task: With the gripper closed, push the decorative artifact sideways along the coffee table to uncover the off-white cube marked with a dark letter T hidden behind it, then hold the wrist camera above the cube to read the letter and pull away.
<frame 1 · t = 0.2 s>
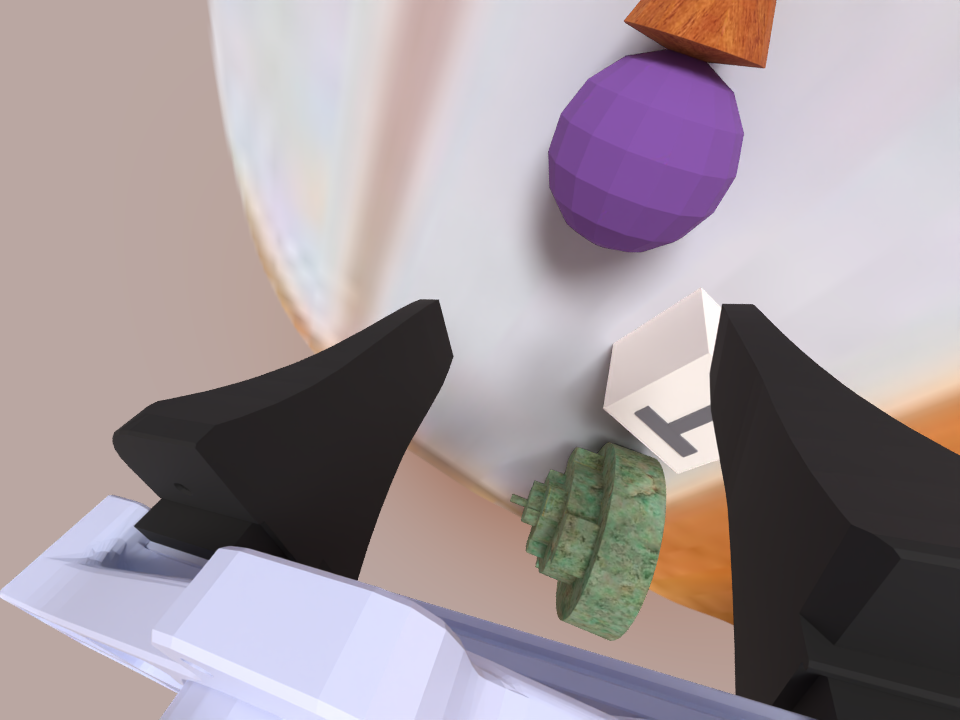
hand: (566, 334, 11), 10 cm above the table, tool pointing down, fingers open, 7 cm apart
decorative artifact: (581, 451, 29), on the table
letter cube: (687, 349, 21), on the table
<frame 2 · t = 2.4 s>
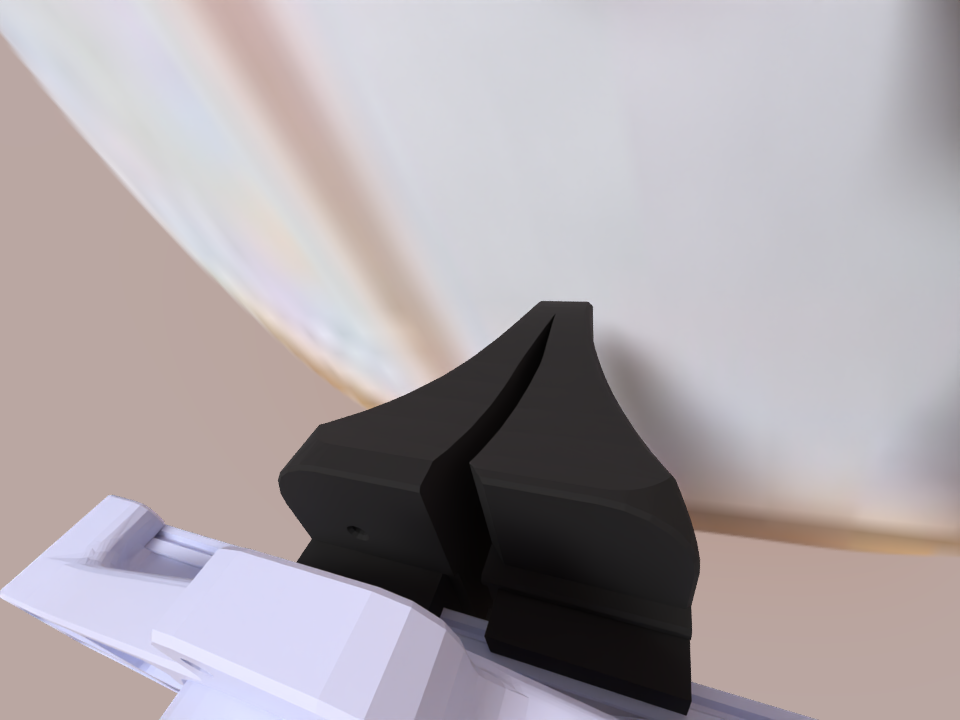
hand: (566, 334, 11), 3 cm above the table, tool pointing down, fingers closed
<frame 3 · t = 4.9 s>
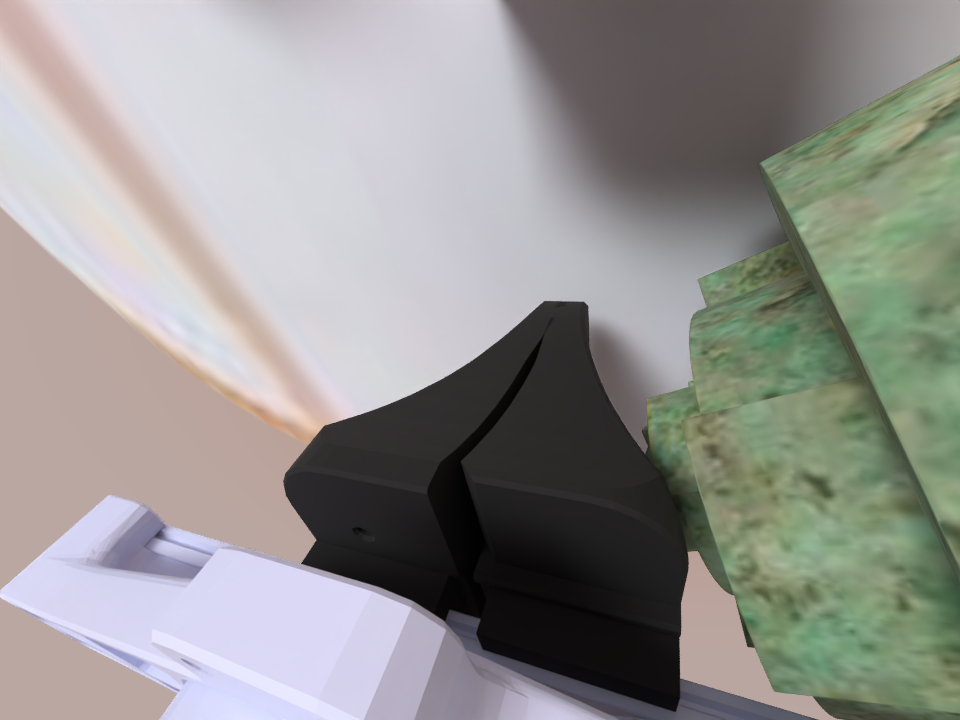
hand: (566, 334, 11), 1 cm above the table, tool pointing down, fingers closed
decorative artifact: (768, 310, 11), on the table, touching gripper
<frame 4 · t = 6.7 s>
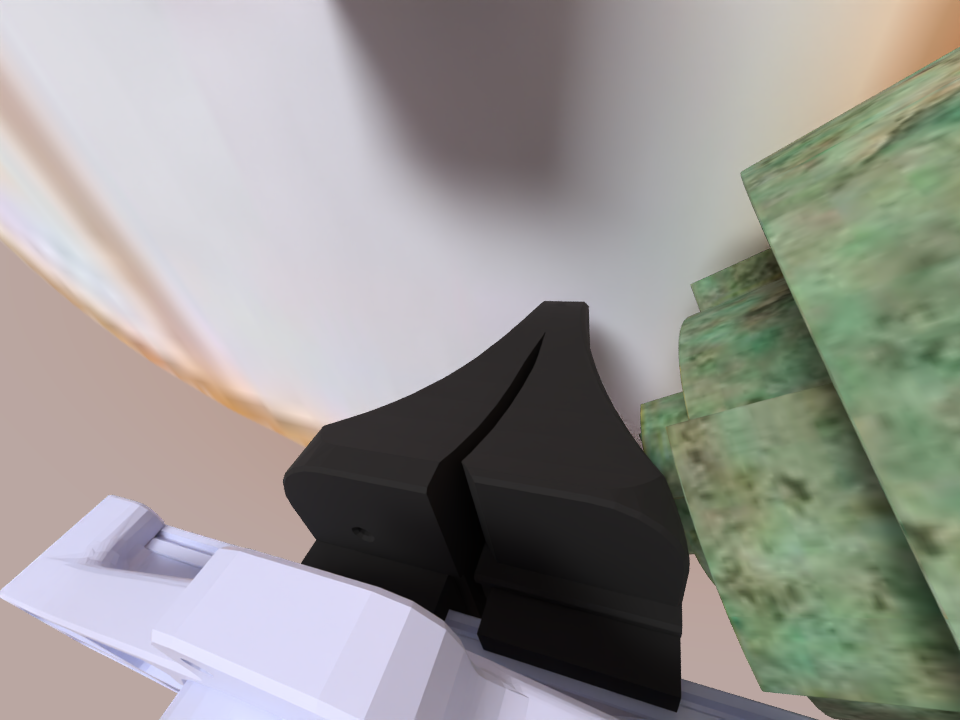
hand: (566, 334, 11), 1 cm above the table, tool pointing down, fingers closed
decorative artifact: (765, 311, 11), on the table, touching gripper
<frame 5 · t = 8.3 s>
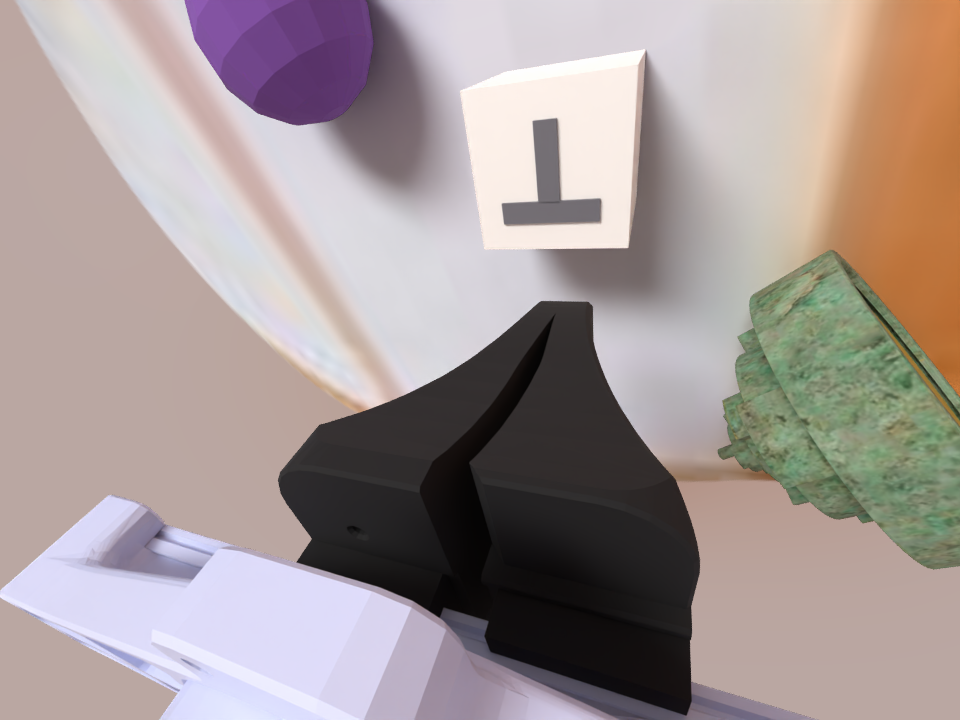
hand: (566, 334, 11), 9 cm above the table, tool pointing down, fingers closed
decorative artifact: (784, 340, 19), on the table
letter cube: (573, 136, 17), on the table
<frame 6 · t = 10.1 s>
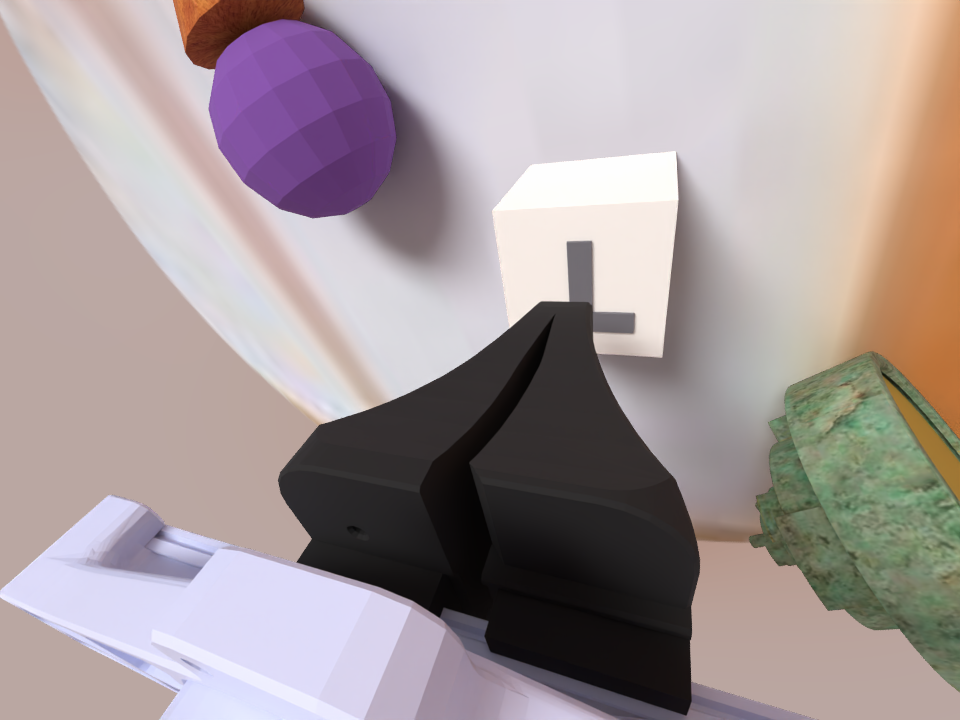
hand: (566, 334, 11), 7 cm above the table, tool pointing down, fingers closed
decorative artifact: (814, 418, 19), on the table
letter cube: (599, 225, 17), on the table
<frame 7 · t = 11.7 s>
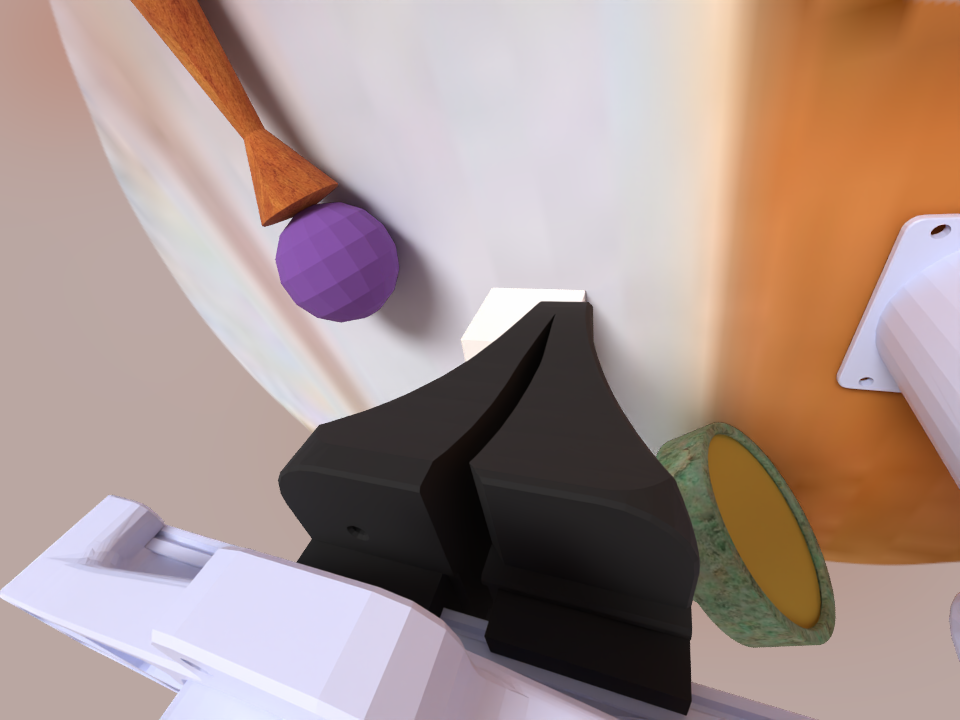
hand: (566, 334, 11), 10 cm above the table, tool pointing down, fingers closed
kendama: (286, 117, 22), on the table
decorative artifact: (696, 459, 27), on the table
letter cube: (540, 327, 24), on the table
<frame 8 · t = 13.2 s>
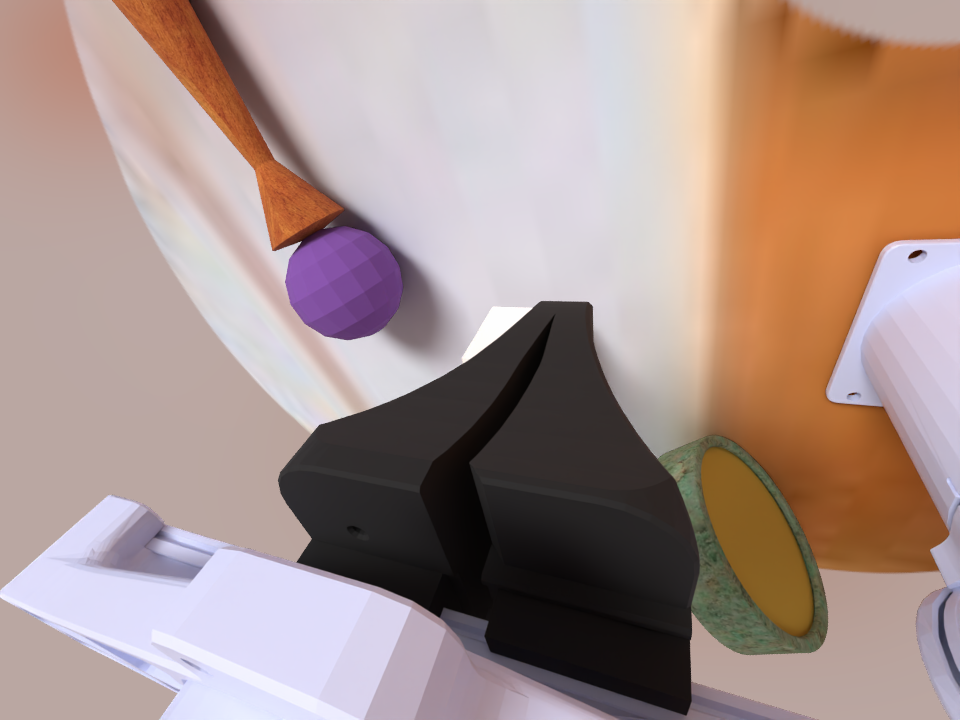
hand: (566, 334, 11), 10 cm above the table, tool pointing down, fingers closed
kendama: (295, 146, 23), on the table
decorative artifact: (694, 469, 27), on the table
letter cube: (539, 344, 25), on the table
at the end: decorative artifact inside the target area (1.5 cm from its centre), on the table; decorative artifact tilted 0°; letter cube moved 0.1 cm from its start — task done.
